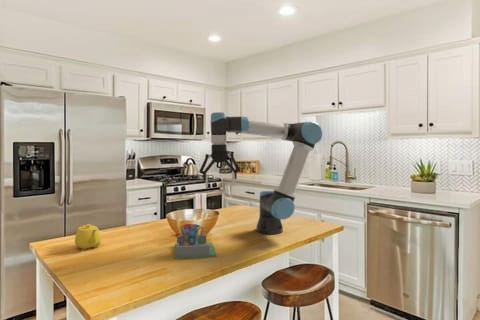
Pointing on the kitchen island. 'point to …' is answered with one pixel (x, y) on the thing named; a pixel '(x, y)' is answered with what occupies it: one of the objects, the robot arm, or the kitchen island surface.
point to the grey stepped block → (194, 249)
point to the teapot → (88, 237)
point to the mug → (190, 234)
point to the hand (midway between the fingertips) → (220, 186)
